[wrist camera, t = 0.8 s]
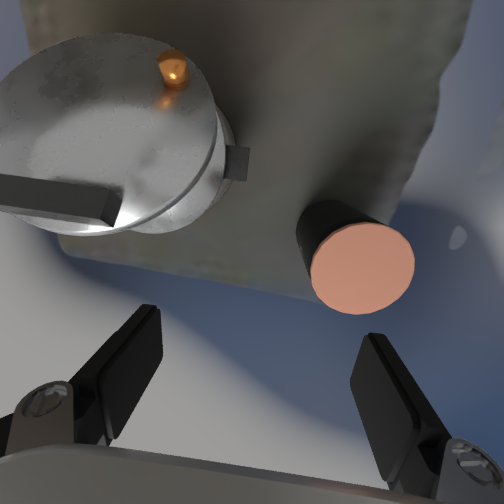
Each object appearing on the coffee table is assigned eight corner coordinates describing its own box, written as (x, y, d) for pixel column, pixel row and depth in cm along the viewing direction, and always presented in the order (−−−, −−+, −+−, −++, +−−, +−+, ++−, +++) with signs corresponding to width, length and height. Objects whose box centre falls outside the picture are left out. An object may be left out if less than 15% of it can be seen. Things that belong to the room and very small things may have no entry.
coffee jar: (283, 236, 43) (290, 282, 26) (321, 186, 39) (358, 201, 23) (329, 268, 44) (364, 330, 27) (370, 222, 41) (439, 261, 24)
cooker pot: (97, 72, 36) (19, 30, 25) (261, 93, 36) (257, 59, 24) (108, 205, 43) (51, 219, 32) (245, 225, 43) (236, 246, 31)
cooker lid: (39, 35, 25) (11, -2, 22) (234, 59, 24) (232, 24, 21) (-55, 216, 20) (-108, 199, 17) (191, 253, 19) (180, 242, 16)
